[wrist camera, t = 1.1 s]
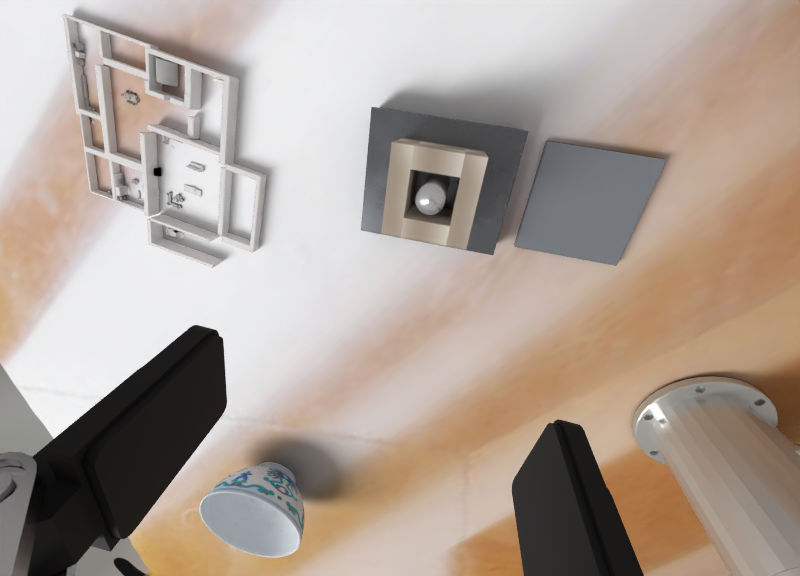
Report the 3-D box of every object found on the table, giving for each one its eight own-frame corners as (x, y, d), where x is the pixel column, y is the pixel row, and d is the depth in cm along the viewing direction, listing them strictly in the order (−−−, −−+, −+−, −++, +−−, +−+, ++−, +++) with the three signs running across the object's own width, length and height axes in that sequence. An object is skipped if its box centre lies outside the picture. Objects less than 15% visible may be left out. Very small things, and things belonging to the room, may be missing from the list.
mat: (662, 158, 27) (666, 159, 26) (614, 263, 31) (616, 265, 31) (546, 140, 28) (547, 141, 27) (514, 244, 32) (515, 246, 31)
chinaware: (214, 452, 55) (178, 500, 48) (285, 434, 50) (257, 484, 43) (268, 510, 60) (242, 561, 53) (338, 498, 55) (320, 553, 48)
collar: (484, 150, 27) (488, 157, 22) (466, 229, 30) (466, 249, 25) (403, 137, 27) (391, 142, 23) (393, 216, 30) (381, 233, 26)
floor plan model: (307, 291, 39) (300, 299, 37) (100, 215, 39) (83, 220, 37) (344, 113, 30) (336, 112, 28) (75, 16, 30) (51, 11, 28)
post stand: (523, 130, 28) (543, 134, 21) (491, 245, 32) (498, 282, 25) (378, 107, 29) (350, 104, 22) (368, 222, 33) (341, 251, 26)
